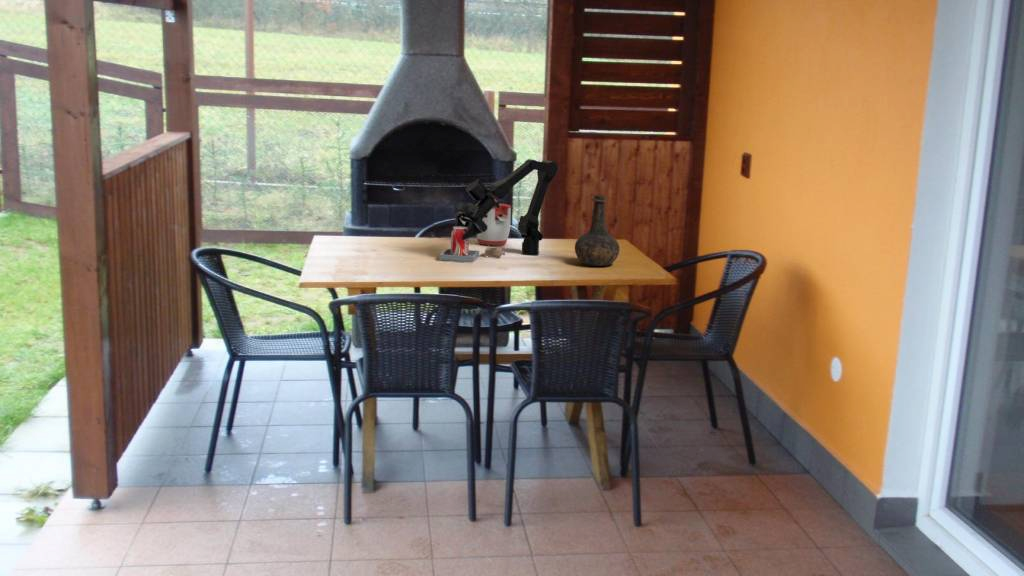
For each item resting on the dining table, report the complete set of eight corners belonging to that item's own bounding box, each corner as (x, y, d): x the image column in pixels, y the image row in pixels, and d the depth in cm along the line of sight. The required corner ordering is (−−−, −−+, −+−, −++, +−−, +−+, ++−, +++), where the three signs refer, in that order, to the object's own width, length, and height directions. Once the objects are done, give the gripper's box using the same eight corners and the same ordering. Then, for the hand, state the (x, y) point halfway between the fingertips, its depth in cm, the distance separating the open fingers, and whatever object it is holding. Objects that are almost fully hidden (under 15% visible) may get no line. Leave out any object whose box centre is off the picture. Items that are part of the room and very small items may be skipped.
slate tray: (479, 256, 404) (479, 250, 404) (473, 263, 391) (473, 256, 391) (446, 254, 406) (446, 248, 405) (439, 260, 393) (439, 254, 393)
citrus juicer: (486, 249, 422) (488, 201, 418) (467, 242, 437) (469, 196, 433) (518, 246, 430) (520, 200, 426) (499, 240, 445) (500, 195, 440)
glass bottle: (610, 260, 409) (614, 192, 403) (624, 269, 392) (629, 198, 386) (568, 260, 405) (572, 191, 399) (580, 269, 388) (584, 197, 382)
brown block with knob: (505, 254, 412) (505, 247, 411) (501, 258, 403) (502, 250, 403) (485, 253, 413) (486, 245, 412) (482, 257, 404) (482, 249, 404)
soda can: (460, 259, 394) (461, 229, 392) (446, 256, 398) (447, 227, 396) (471, 257, 400) (472, 227, 397) (458, 254, 404) (459, 225, 401)
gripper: (459, 191, 403) (434, 220, 400) (481, 198, 387) (455, 227, 384) (475, 210, 409) (451, 238, 405) (498, 217, 393) (473, 246, 390)
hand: (457, 237), depth 396 cm, fingers open, 9 cm apart
